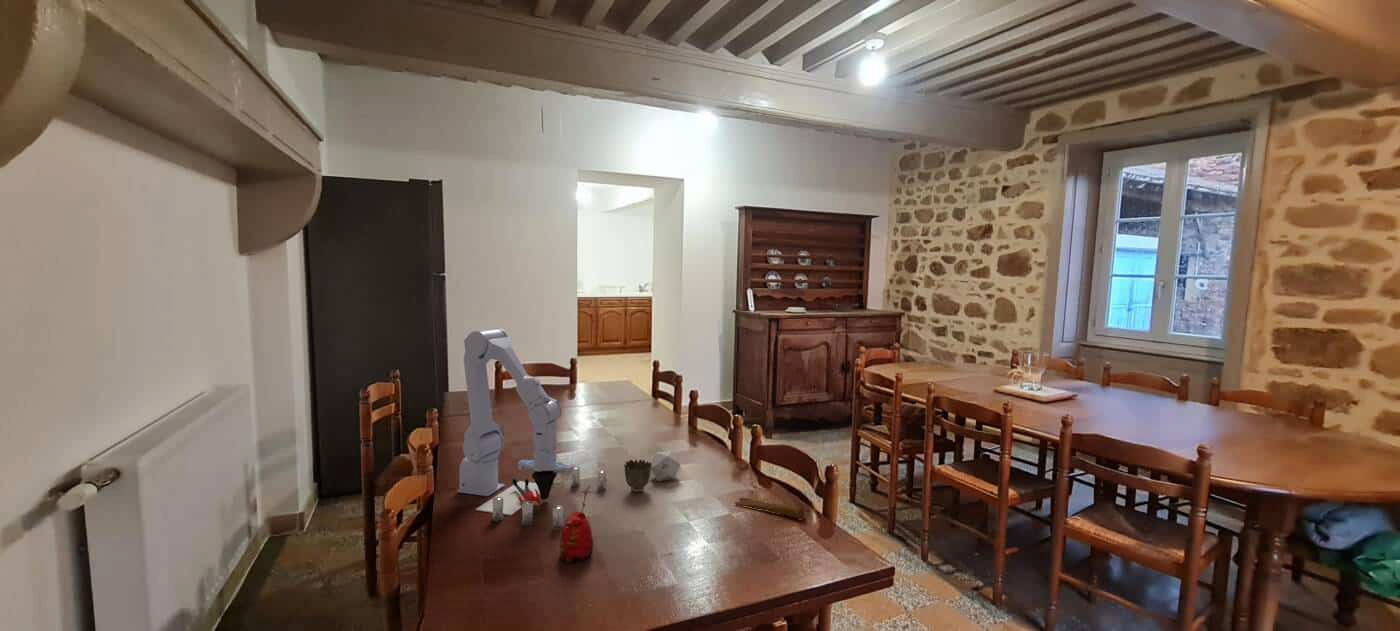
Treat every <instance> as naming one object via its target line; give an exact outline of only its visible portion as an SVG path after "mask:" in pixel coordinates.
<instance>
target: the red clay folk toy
mask: <svg viewBox="0 0 1400 631" xmlns="http://www.w3.org/2000/svg"><path fill="white" fill-rule="evenodd" d="M590 488H591V486H590V485H588V486H587V488H586V489H584V491H583V490H582V492H581V493H583V494H584V496H583V502H581V505H582V507H581V512H578V511H575V512H573V513H572V514H571V515H569V516H568V517H567V518H566V520H565V523H564V524H563V526H562V529H561V535H560V538H559V550H560V551H559V553H560V558H561V560H563V561H564V562H566V563H568V564H571V563H573V562H580V561H581V562H582V561H583V560H585V559H587V558H588V557H589V556H590V555H591V554H592V553H593V550H594V549H593V547H594V539H593V535H592V528H591V524H590V522H589V520H588V518H587V516H586V514H585V513H584V512H583V511H584V508H585V507H586V503H585V502H586V497H587V494H588V493H591V492H592V491H591V490H590V491H589V489H590Z"/></svg>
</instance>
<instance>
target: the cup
mask: <svg viewBox="0 0 1400 631" xmlns="http://www.w3.org/2000/svg"><path fill="white" fill-rule="evenodd" d="M651 462H652V461H648V460H647V461H645V459H643V460H642V459H639V461H638V459H634V460H633V459H630V460H626V461H625V463H624V465H623V466H624V475H625V481H626V484H627V485H628V486H629V487H630V492H631V493H634V494H641V493H644V491H645V487H646V486H647V485H648V483H649V481H650V478H651V473H652V471H651Z"/></svg>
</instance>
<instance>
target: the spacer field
mask: <svg viewBox="0 0 1400 631" xmlns="http://www.w3.org/2000/svg"><path fill="white" fill-rule="evenodd" d="M580 468H581V467H579V466H572V473H571V474H570V486H571V488H579V487H581V486H580V485H581V484H580V478H581V476H580V474H581V469H580ZM596 477H597V482H596V483H597V484H596V490H597V491H598V492H604V491H606V490H607V470H604V469H601V470H598V471H597V476H596ZM554 483H555V480H554V481H553V483H552V484H554ZM494 497H495V498H494ZM494 497H492V498H493V513H492V520H493V521H494V522H500V521H502V520H504V515H503V497H496V496H494ZM521 509H522V512H521V517H522V520H521V524H522V526H532V524H533V522H534V519H533V518H534V517H533V516H534V513H533V502H532V501H525V502H523V503H522V508H521ZM563 525H564V506H563V505H558V504H557V505H554V506H553V507H552V530H553V531H562V526H563Z"/></svg>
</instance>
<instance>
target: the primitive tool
mask: <svg viewBox="0 0 1400 631" xmlns="http://www.w3.org/2000/svg"><path fill="white" fill-rule="evenodd" d="M739 498H740V499H739ZM739 498H738V500H740V502H736V501H735V502H736V503H735V504H736V505H740V506H747V507H752V508H756V509H762V510H768V511H771V512H775V513H780V514H784V515H788V516H792V517H791V518H793V517H795V518H797V519H798V521H799V519H802V518H803V517H804V516H805V509H804V507H803V506H800V507H796V506H795V507H794V506H787V505H782V504H776V503H769V502H764V501H759V500H755V499H752V498H749V497H739ZM788 516H787V517H788ZM795 518H794V519H795ZM804 518H805V517H804ZM797 519H796V520H797Z"/></svg>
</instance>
